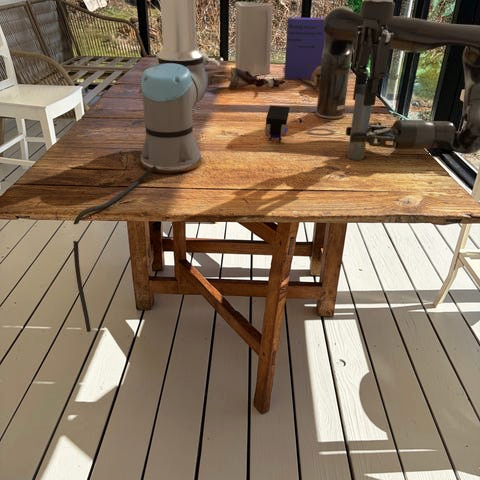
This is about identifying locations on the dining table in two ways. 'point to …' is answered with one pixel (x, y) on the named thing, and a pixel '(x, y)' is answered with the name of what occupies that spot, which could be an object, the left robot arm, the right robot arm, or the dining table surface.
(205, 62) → the toy
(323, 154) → the dining table surface
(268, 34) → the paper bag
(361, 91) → the lid
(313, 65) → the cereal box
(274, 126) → the figurine character
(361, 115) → the grey cylinder
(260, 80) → the figurine
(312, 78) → the anatomical model
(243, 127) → the dining table surface
